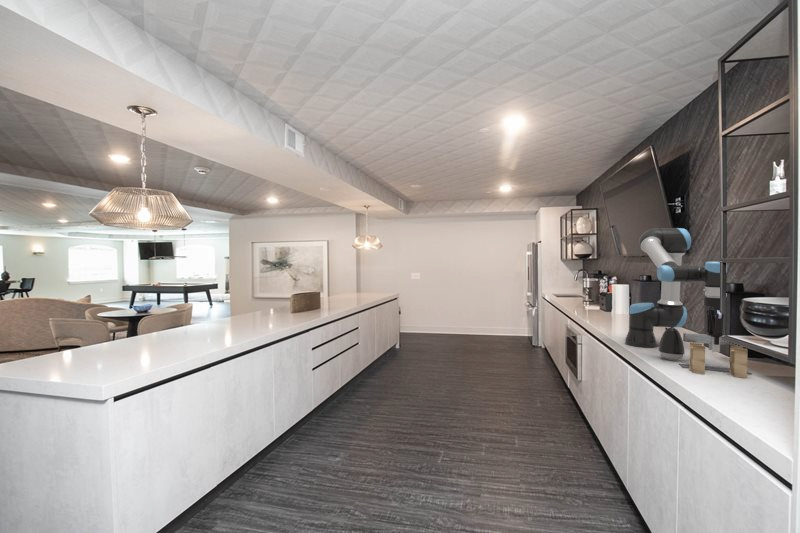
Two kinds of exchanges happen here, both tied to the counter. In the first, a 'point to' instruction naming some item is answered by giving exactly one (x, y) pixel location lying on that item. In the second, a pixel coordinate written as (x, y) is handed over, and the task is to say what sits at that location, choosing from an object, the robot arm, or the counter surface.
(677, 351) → the black tapered rounded piece
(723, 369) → the mat
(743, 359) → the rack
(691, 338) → the rail
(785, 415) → the counter surface
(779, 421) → the counter surface
